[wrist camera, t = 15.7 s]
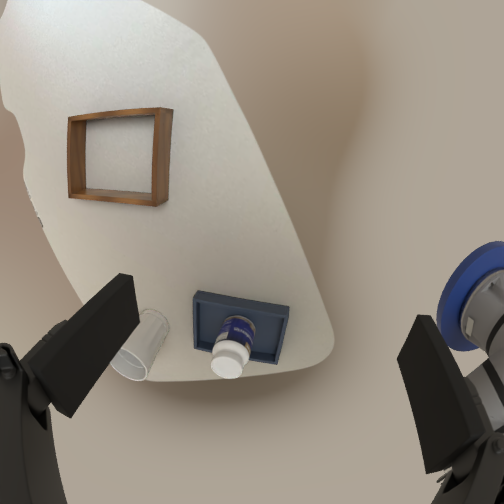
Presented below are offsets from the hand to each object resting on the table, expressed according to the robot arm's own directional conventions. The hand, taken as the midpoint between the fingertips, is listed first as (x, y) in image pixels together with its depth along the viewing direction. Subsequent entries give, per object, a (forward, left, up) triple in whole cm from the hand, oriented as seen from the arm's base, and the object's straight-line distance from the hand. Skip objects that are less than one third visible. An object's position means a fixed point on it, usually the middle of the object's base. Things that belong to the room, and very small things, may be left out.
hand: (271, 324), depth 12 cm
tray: (+5, +23, -28) cm, 37 cm away
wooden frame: (+26, -4, -28) cm, 38 cm away
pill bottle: (+5, +23, -27) cm, 36 cm away
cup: (+21, +27, -28) cm, 44 cm away
